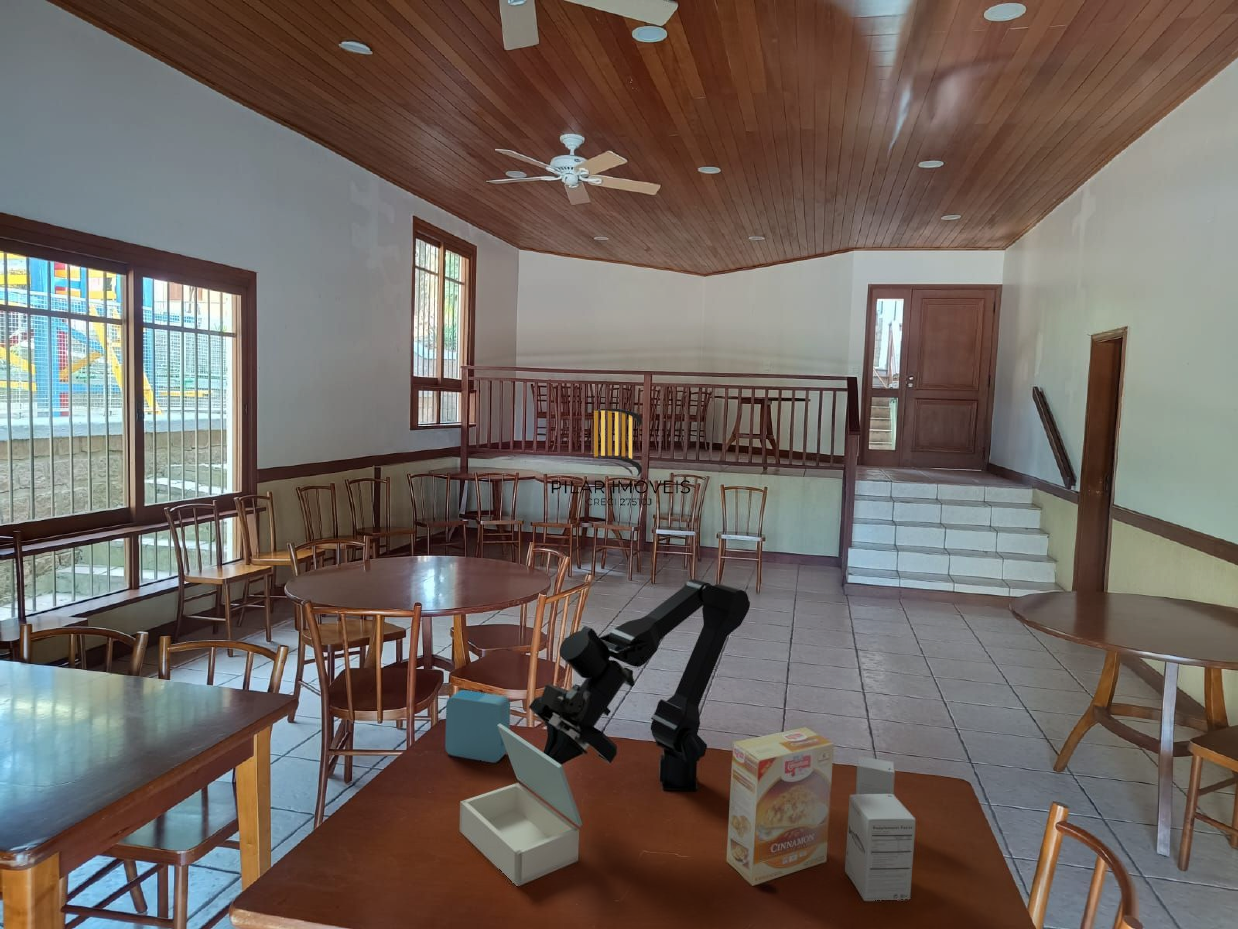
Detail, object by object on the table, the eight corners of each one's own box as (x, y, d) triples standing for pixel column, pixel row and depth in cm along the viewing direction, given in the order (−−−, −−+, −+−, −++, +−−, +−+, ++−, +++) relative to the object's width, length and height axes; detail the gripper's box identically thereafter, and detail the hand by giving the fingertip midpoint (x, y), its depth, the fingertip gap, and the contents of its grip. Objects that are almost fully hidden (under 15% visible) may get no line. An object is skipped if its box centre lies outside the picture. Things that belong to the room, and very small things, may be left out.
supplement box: (843, 871, 117) (848, 793, 116) (889, 871, 118) (894, 792, 117) (862, 903, 110) (867, 819, 109) (911, 901, 110) (917, 818, 109)
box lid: (517, 779, 131) (519, 777, 131) (579, 827, 117) (582, 824, 117) (497, 725, 127) (500, 723, 128) (558, 768, 113) (561, 765, 114)
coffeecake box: (752, 887, 112) (759, 760, 111) (724, 861, 119) (730, 740, 117) (829, 863, 119) (836, 742, 118) (798, 839, 125) (804, 725, 124)
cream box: (517, 810, 131) (518, 782, 131) (577, 860, 117) (579, 829, 117) (459, 831, 124) (460, 801, 124) (516, 887, 110) (517, 854, 110)
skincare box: (890, 829, 130) (895, 761, 129) (891, 842, 126) (895, 772, 125) (853, 822, 132) (857, 755, 131) (852, 834, 127) (857, 765, 127)
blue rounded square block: (509, 754, 152) (510, 696, 151) (499, 764, 148) (501, 704, 147) (455, 745, 156) (456, 688, 155) (444, 754, 151) (445, 696, 150)
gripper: (539, 651, 132) (481, 727, 126) (604, 683, 117) (543, 771, 111) (574, 685, 137) (521, 760, 131) (641, 720, 123) (584, 806, 117)
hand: (540, 773), depth 123 cm, fingers closed, pressing on box lid
